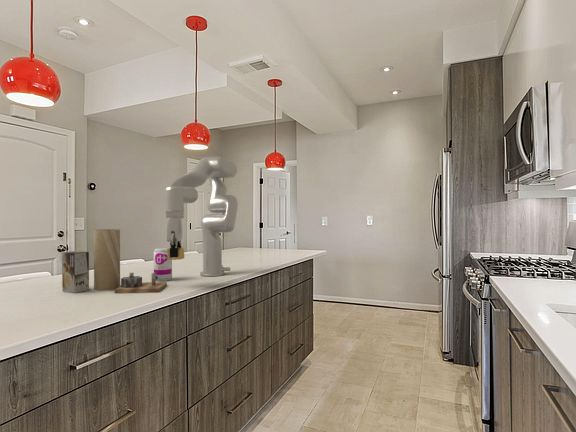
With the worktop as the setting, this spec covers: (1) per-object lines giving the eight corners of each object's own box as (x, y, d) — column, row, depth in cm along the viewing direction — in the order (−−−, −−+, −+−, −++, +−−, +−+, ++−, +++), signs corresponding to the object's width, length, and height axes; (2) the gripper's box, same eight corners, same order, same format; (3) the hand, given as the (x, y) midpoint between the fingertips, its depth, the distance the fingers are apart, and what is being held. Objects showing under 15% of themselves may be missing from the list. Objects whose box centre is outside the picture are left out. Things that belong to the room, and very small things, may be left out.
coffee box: (90, 290, 149) (89, 251, 149) (74, 293, 143) (74, 253, 143) (76, 288, 153) (76, 250, 153) (61, 291, 148) (61, 252, 148)
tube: (88, 289, 150) (88, 230, 150) (105, 285, 159) (105, 229, 159) (108, 291, 147) (108, 230, 147) (125, 286, 157) (125, 229, 157)
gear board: (166, 285, 159) (166, 269, 159) (158, 292, 145) (158, 274, 145) (126, 286, 157) (126, 270, 157) (114, 293, 143) (114, 275, 143)
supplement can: (168, 281, 168) (168, 249, 168) (151, 281, 168) (150, 249, 168) (174, 278, 176) (174, 248, 176) (157, 278, 176) (157, 248, 176)
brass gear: (185, 257, 160) (185, 247, 160) (182, 259, 153) (182, 249, 153) (169, 257, 159) (169, 247, 159) (165, 260, 152) (165, 249, 152)
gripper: (170, 214, 163) (171, 253, 164) (161, 215, 146) (162, 259, 147) (187, 214, 164) (188, 253, 165) (179, 215, 147) (180, 258, 148)
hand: (175, 255), depth 156 cm, fingers closed on brass gear, 6 cm apart
